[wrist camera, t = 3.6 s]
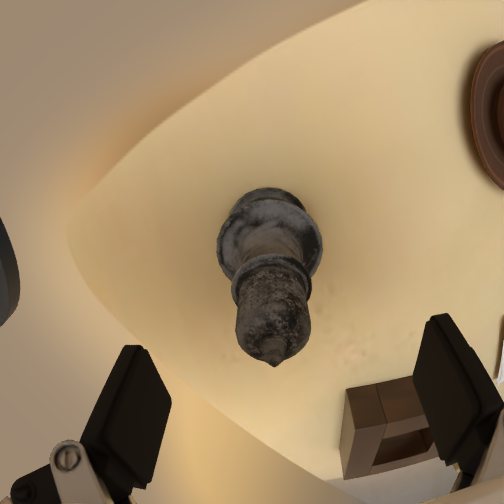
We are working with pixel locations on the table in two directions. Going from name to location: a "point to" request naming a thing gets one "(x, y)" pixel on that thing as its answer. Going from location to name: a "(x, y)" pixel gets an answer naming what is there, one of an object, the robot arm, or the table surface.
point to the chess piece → (270, 272)
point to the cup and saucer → (489, 111)
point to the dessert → (501, 369)
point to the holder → (384, 429)
